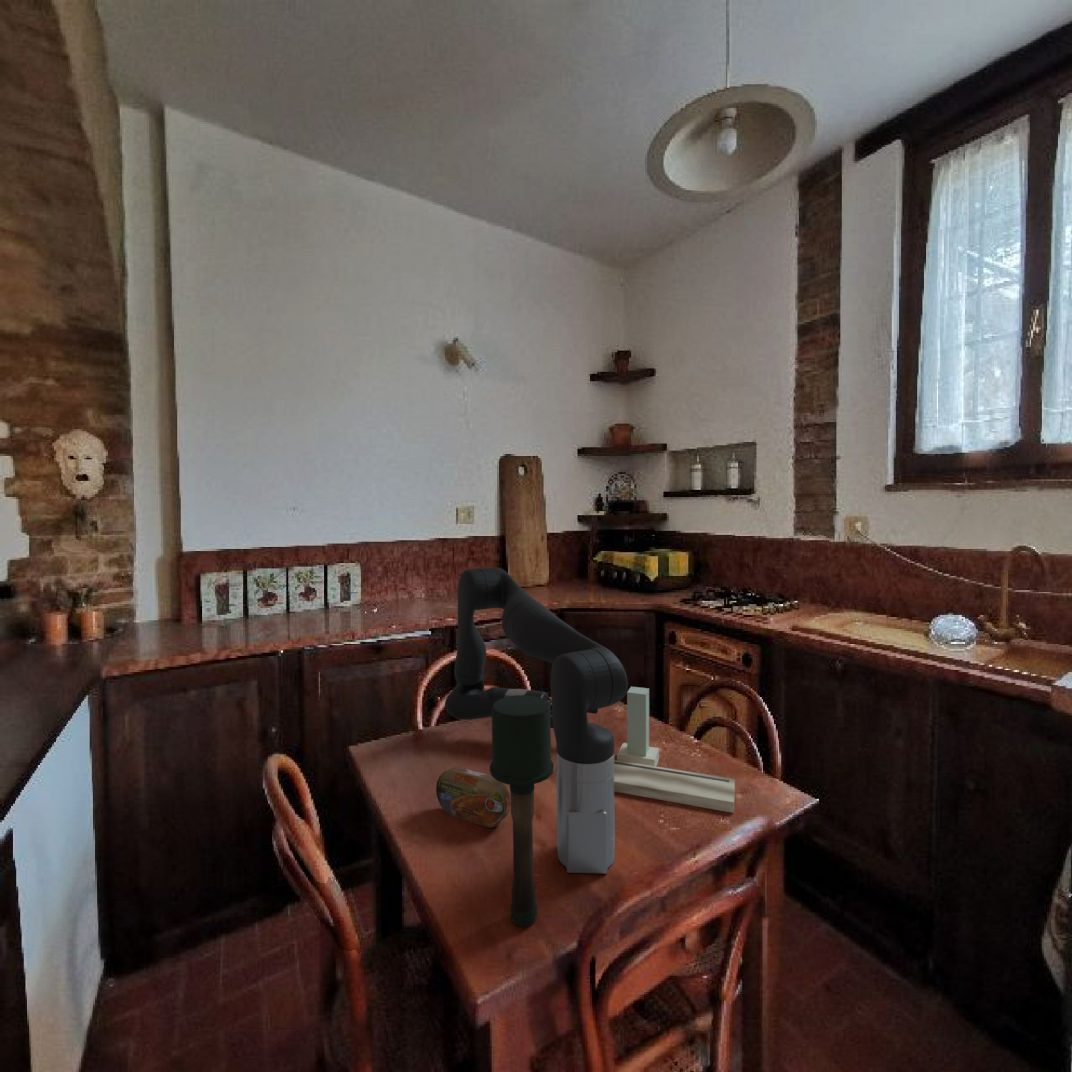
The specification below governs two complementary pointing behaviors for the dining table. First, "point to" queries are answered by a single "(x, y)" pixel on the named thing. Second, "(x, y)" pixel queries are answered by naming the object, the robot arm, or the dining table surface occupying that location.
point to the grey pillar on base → (638, 730)
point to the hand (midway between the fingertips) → (592, 715)
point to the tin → (473, 796)
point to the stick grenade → (522, 784)
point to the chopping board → (675, 785)
